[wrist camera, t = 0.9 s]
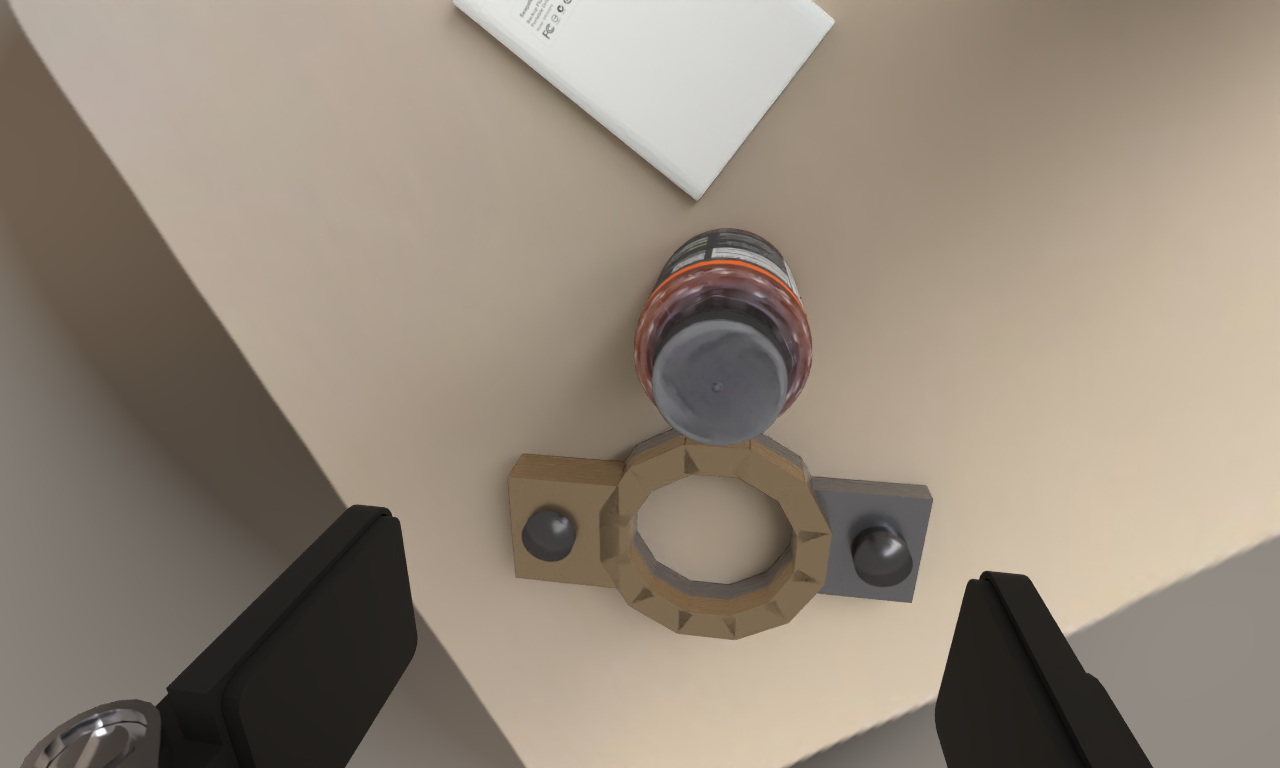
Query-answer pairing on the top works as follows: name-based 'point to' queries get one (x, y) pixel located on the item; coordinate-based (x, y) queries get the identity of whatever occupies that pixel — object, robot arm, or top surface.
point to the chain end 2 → (835, 537)
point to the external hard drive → (664, 68)
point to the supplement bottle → (723, 338)
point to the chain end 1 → (603, 531)
